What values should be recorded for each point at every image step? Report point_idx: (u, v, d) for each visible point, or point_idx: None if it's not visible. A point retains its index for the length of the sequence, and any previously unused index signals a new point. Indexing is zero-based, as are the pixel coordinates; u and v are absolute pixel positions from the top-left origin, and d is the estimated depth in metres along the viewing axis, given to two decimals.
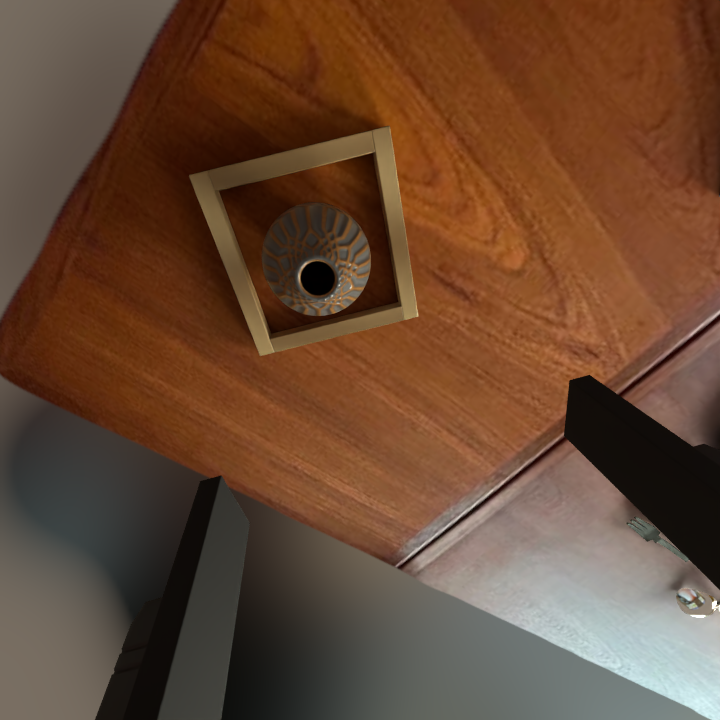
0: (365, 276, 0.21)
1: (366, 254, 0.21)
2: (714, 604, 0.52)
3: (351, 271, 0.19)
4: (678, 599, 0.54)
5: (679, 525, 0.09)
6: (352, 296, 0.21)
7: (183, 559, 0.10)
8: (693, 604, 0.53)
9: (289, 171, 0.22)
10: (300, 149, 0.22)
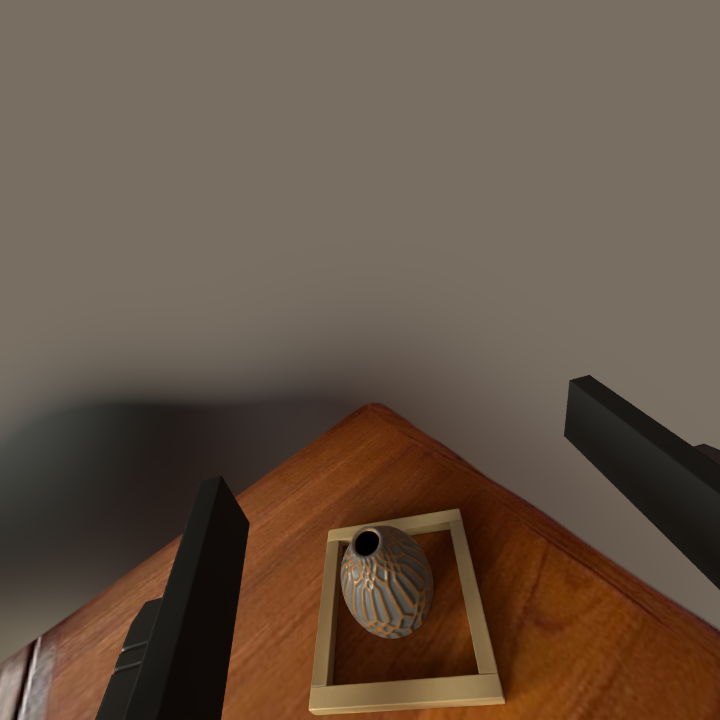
0: (362, 605, 0.24)
1: (379, 610, 0.23)
2: None
3: (367, 581, 0.23)
4: None
5: (679, 525, 0.09)
6: (348, 586, 0.24)
7: (183, 559, 0.10)
8: None
9: (461, 580, 0.27)
10: (478, 593, 0.26)
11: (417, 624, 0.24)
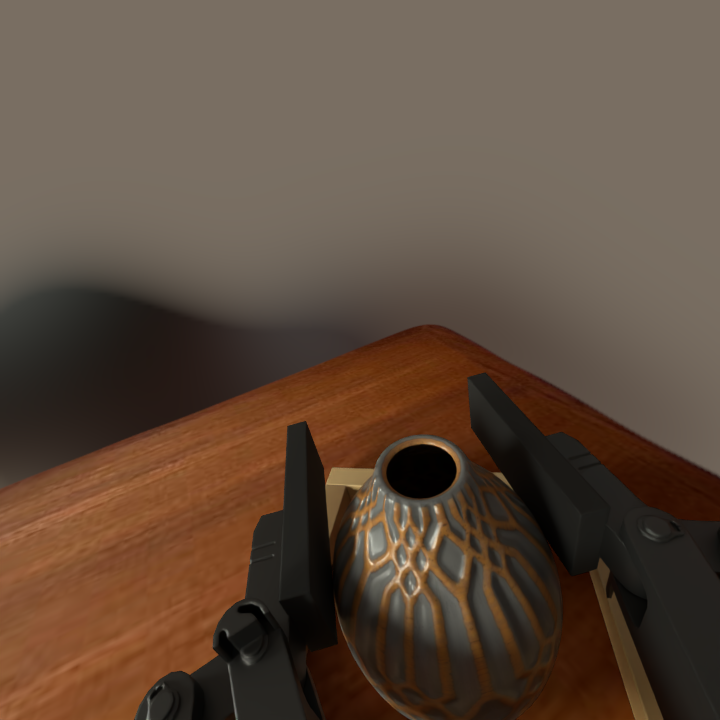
0: (377, 631, 0.08)
1: (426, 661, 0.08)
2: None
3: (404, 571, 0.08)
4: None
5: (532, 501, 0.11)
6: (350, 570, 0.09)
7: (292, 480, 0.11)
8: None
9: (618, 626, 0.11)
10: None
11: (514, 718, 0.09)
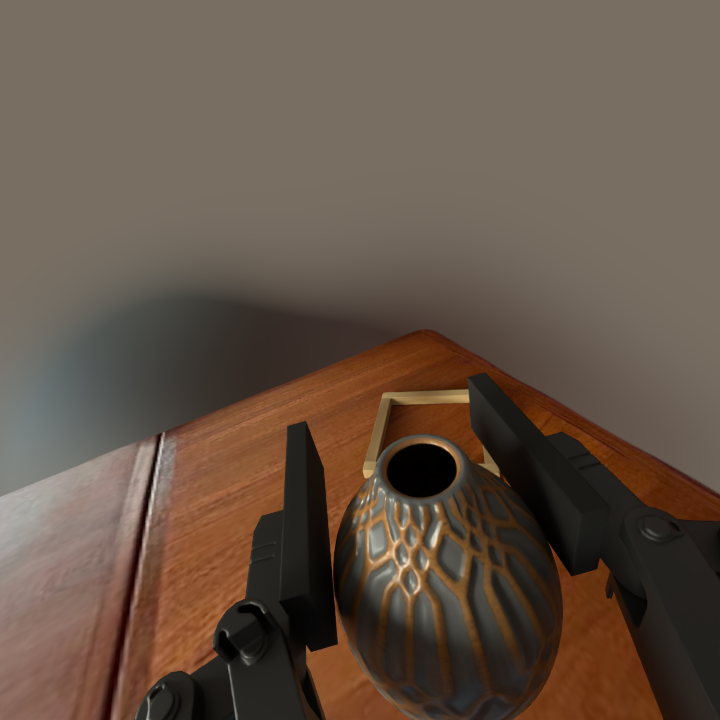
0: (378, 630, 0.08)
1: (427, 660, 0.08)
2: None
3: (405, 570, 0.08)
4: None
5: (533, 501, 0.11)
6: (351, 569, 0.09)
7: (292, 480, 0.11)
8: None
9: None
10: None
11: (514, 717, 0.09)
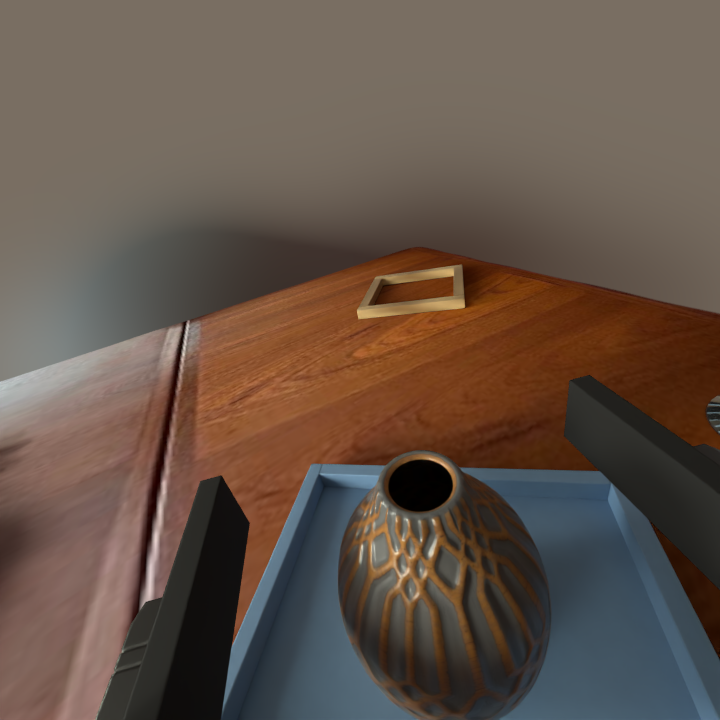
0: (380, 634, 0.09)
1: (425, 660, 0.09)
2: None
3: (405, 578, 0.09)
4: None
5: (679, 525, 0.09)
6: (355, 576, 0.10)
7: (183, 559, 0.10)
8: None
9: (454, 279, 0.46)
10: (462, 281, 0.45)
11: (506, 714, 0.10)
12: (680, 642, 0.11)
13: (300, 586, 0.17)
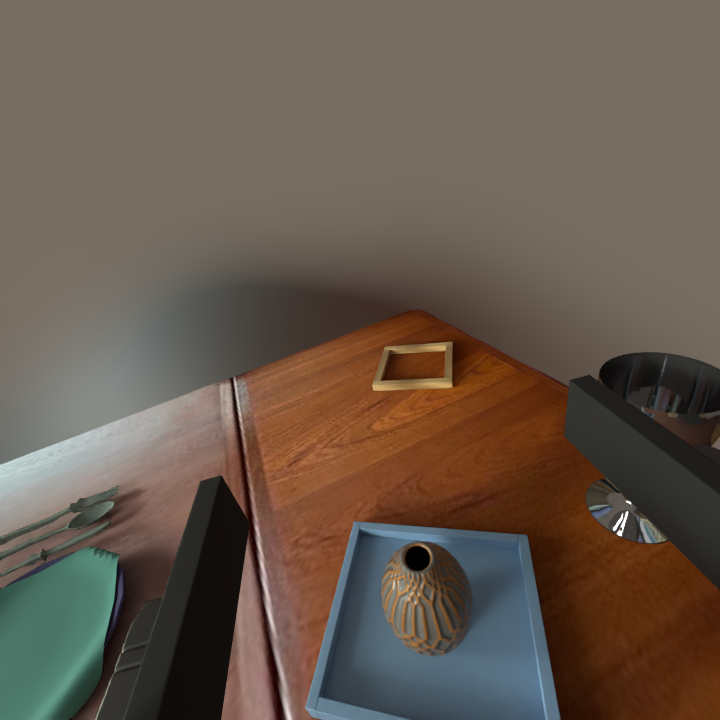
0: (402, 617, 0.24)
1: (419, 626, 0.23)
2: None
3: (411, 595, 0.24)
4: None
5: (679, 525, 0.09)
6: (391, 594, 0.25)
7: (183, 559, 0.10)
8: None
9: (445, 359, 0.60)
10: (451, 362, 0.59)
11: (451, 649, 0.24)
12: (531, 622, 0.26)
13: (355, 595, 0.31)
